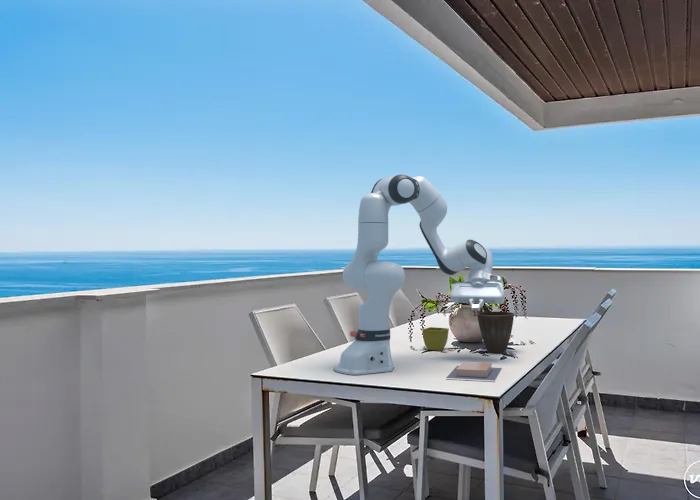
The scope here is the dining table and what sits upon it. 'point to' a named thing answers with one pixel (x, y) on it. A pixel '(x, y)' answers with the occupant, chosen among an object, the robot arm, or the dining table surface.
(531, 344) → the dining table surface
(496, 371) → the charcoal mat
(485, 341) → the plant pot
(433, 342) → the flower pot
